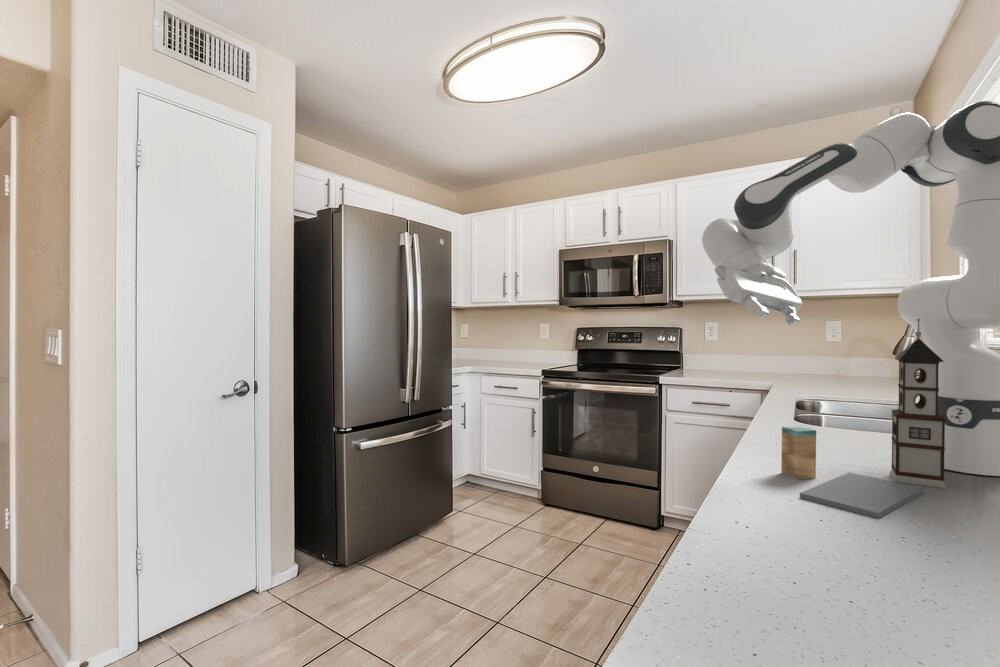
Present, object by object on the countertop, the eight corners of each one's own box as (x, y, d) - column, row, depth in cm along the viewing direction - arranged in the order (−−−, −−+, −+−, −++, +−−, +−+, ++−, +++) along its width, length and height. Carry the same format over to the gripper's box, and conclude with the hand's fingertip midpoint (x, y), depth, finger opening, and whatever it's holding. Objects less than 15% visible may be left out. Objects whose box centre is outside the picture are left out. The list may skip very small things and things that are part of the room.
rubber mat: (849, 476, 95) (849, 472, 95) (922, 492, 86) (922, 487, 86) (799, 497, 83) (799, 492, 83) (878, 518, 74) (878, 512, 74)
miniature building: (893, 481, 92) (895, 318, 92) (889, 472, 98) (891, 318, 97) (946, 488, 88) (948, 318, 88) (938, 478, 94) (940, 318, 94)
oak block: (781, 472, 97) (781, 426, 97) (800, 472, 98) (800, 426, 98) (796, 479, 94) (796, 431, 93) (815, 478, 94) (816, 430, 94)
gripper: (722, 253, 104) (755, 299, 95) (787, 272, 112) (823, 317, 103) (702, 275, 108) (732, 321, 99) (766, 292, 116) (799, 336, 107)
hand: (779, 319), depth 101 cm, fingers open, 8 cm apart
